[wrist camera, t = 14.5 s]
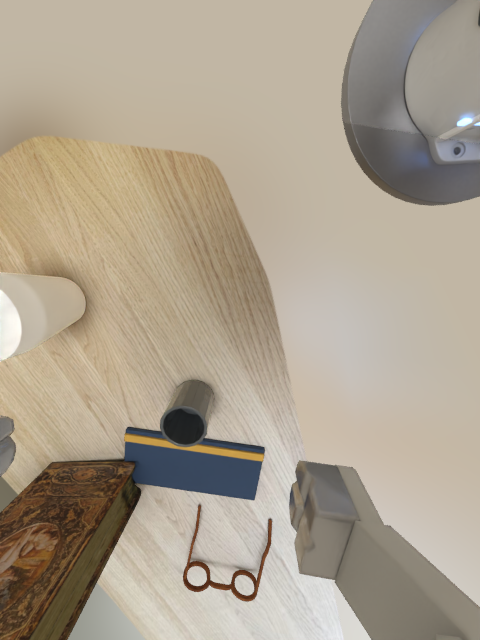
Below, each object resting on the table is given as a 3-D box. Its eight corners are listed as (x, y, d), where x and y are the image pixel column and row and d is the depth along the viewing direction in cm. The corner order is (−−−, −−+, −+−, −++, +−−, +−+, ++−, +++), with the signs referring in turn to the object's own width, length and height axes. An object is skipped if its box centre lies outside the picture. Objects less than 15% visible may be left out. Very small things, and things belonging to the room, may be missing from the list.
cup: (77, 259, 35) (-8, 260, 23) (105, 321, 37) (40, 350, 25) (19, 279, 36) (-90, 290, 24) (49, 338, 38) (-38, 375, 26)
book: (53, 489, 44) (-197, 767, 20) (45, 462, 43) (-232, 724, 19) (144, 488, 43) (-9, 791, 19) (138, 460, 42) (-35, 745, 17)
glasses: (186, 558, 47) (179, 592, 43) (198, 503, 44) (192, 533, 39) (256, 571, 48) (257, 607, 43) (273, 518, 45) (276, 550, 40)
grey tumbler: (216, 382, 39) (209, 409, 32) (211, 417, 40) (204, 450, 33) (176, 376, 39) (161, 402, 32) (173, 411, 40) (158, 443, 33)
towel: (264, 447, 41) (264, 452, 40) (254, 496, 44) (254, 502, 43) (127, 426, 41) (124, 431, 40) (125, 477, 43) (122, 483, 42)
